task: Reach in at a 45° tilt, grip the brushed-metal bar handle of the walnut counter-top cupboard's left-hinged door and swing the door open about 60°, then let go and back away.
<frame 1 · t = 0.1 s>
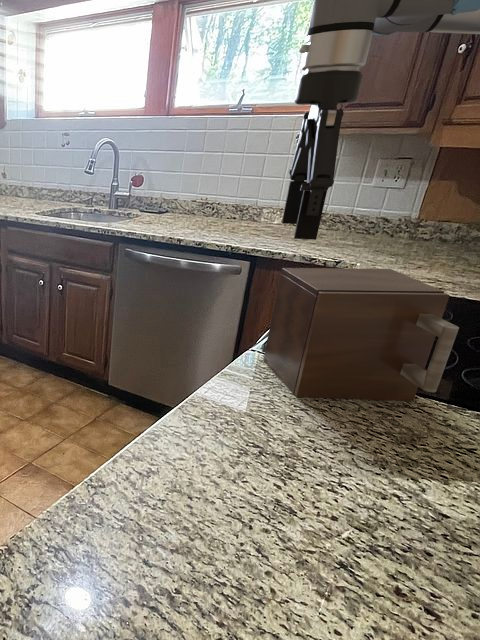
hand: (297, 230, 79), 26 cm above the worktop, tool pointing down, fingers open, 13 cm apart
door: (378, 355, 79), point 9 cm above the worktop, hinge at 0.0°
cupboard: (330, 378, 93), on the worktop
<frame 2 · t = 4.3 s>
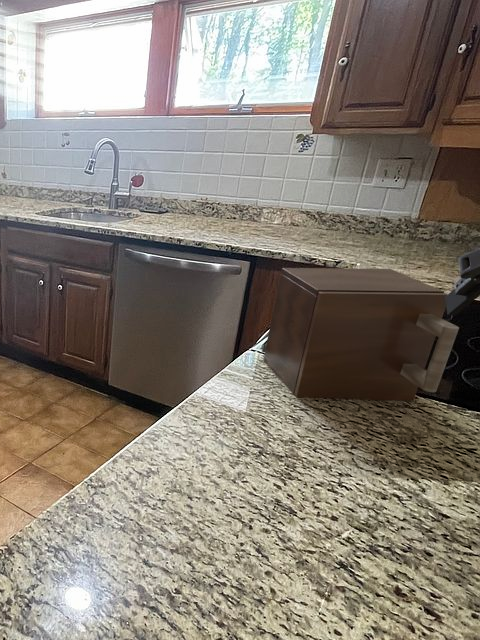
nothing on the worktop moved.
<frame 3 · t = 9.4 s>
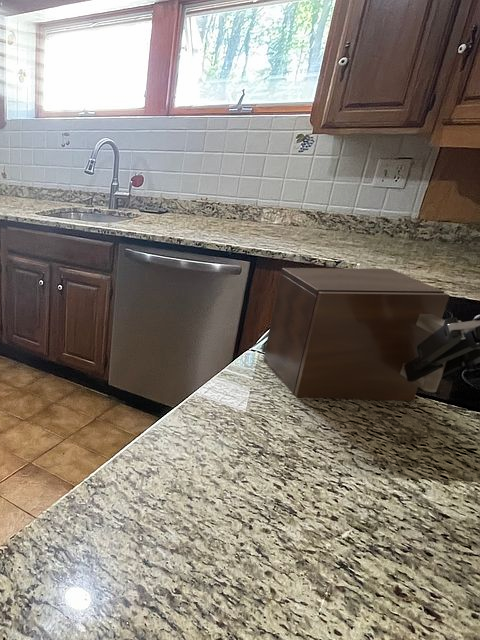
hand: (417, 373, 80), 6 cm above the worktop, tool tilted 45°, fingers closed on door, 2 cm apart
door: (378, 355, 79), point 9 cm above the worktop, hinge at 0.0°, touching gripper
everything else where it was.
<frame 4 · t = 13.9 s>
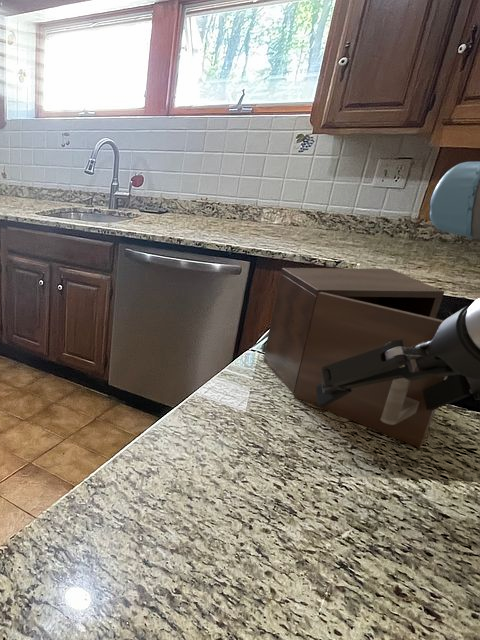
hand: (373, 398, 70), 8 cm above the worktop, tool tilted 45°, fingers open, 13 cm apart
door: (356, 371, 74), point 9 cm above the worktop, hinge at 53.1°, touching gripper
everything else where it was.
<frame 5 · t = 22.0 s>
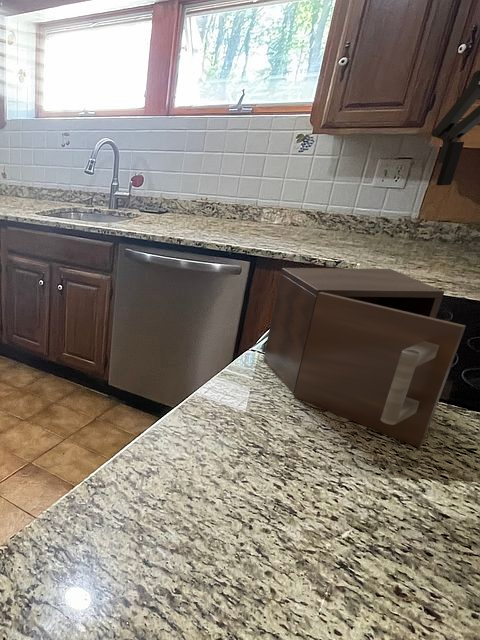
door: (356, 371, 74), point 9 cm above the worktop, hinge at 53.1°
everything else where it was.
at the end: door at +53° (first picture: +0°); the gripper is holding nothing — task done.
